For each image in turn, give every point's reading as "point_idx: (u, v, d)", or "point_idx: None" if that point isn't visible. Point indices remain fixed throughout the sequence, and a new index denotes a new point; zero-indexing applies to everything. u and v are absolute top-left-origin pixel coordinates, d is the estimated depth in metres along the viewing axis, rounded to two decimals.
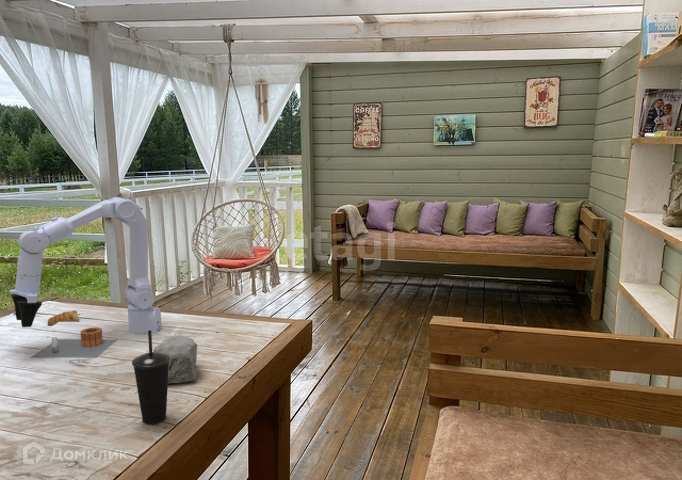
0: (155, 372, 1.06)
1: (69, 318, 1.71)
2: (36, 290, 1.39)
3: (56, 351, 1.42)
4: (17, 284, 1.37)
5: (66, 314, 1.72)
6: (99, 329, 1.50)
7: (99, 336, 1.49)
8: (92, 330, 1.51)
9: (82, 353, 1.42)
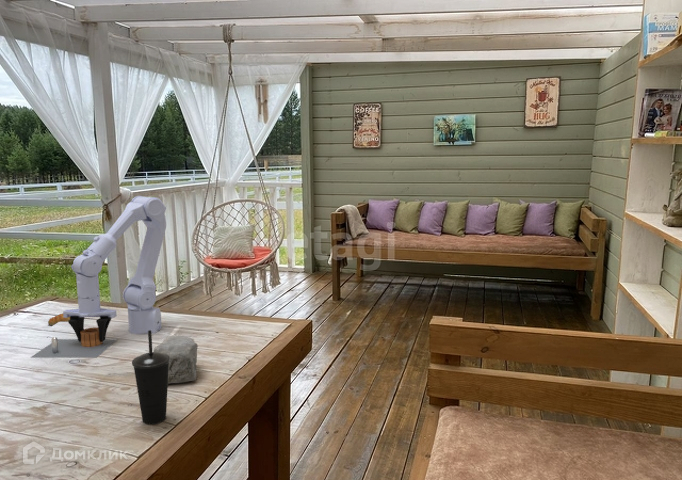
0: (155, 372, 1.06)
1: None
2: None
3: (56, 351, 1.42)
4: (88, 307, 1.45)
5: None
6: None
7: None
8: (92, 330, 1.51)
9: (82, 353, 1.42)
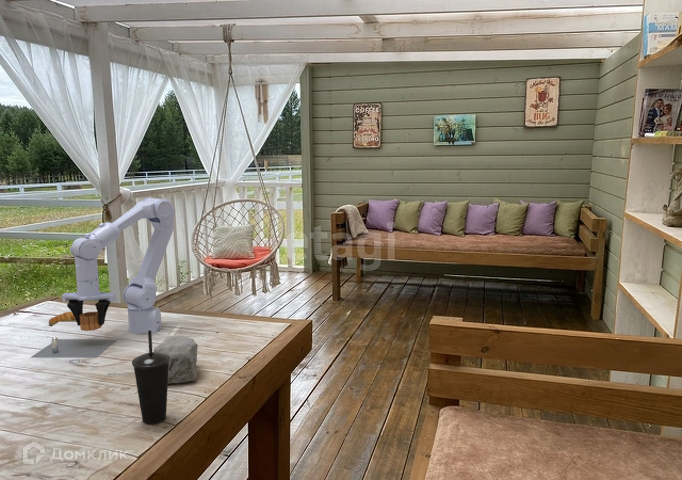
0: (155, 372, 1.06)
1: (71, 318, 1.71)
2: None
3: (56, 351, 1.42)
4: (87, 290, 1.44)
5: (67, 314, 1.71)
6: None
7: None
8: (91, 314, 1.50)
9: (82, 353, 1.42)
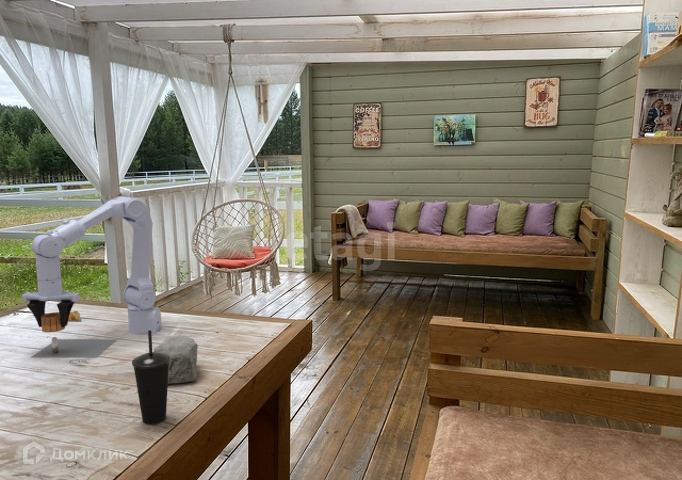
0: (155, 372, 1.06)
1: (71, 319, 1.71)
2: None
3: (56, 351, 1.42)
4: (48, 290, 1.37)
5: None
6: None
7: (60, 321, 1.40)
8: (54, 315, 1.43)
9: (82, 353, 1.42)
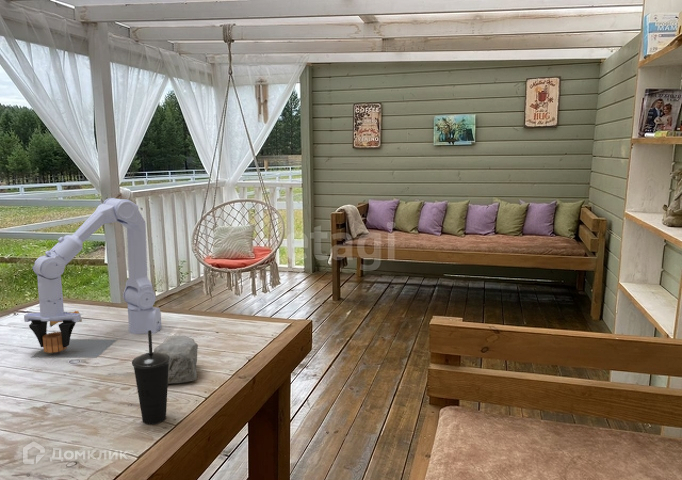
0: (155, 372, 1.06)
1: None
2: (63, 311, 1.43)
3: None
4: (50, 310, 1.38)
5: None
6: None
7: None
8: (55, 335, 1.44)
9: (82, 353, 1.42)
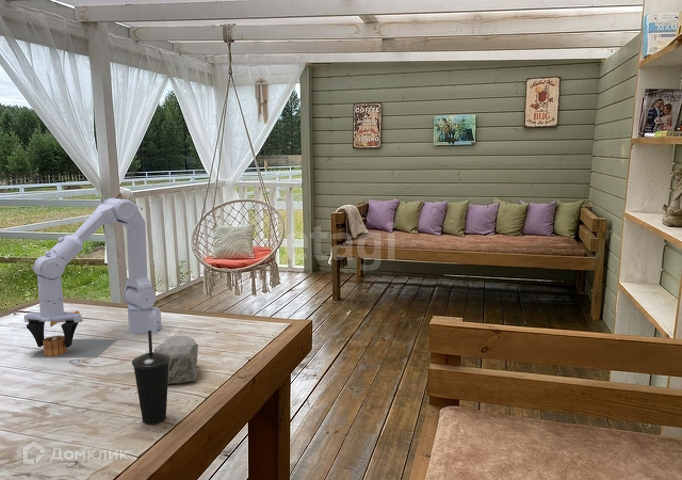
0: (155, 372, 1.06)
1: None
2: (63, 311, 1.43)
3: None
4: (50, 311, 1.38)
5: None
6: (63, 337, 1.43)
7: (62, 345, 1.41)
8: None
9: (82, 353, 1.42)
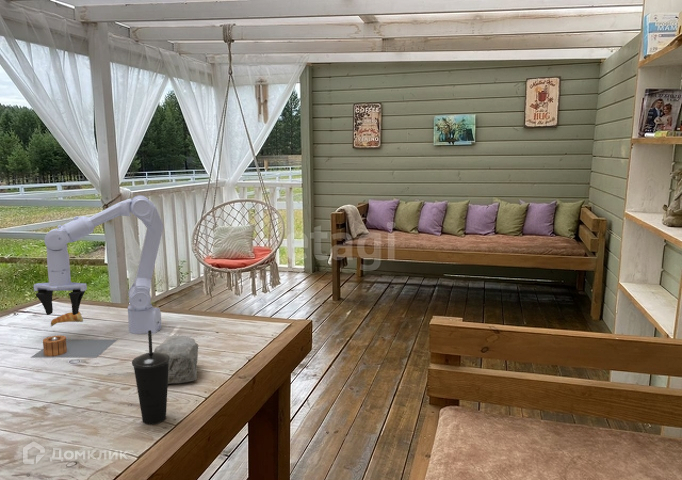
0: (155, 372, 1.06)
1: (73, 319, 1.70)
2: None
3: None
4: (58, 280, 1.47)
5: (70, 315, 1.71)
6: (63, 337, 1.43)
7: (62, 345, 1.41)
8: None
9: (82, 353, 1.42)
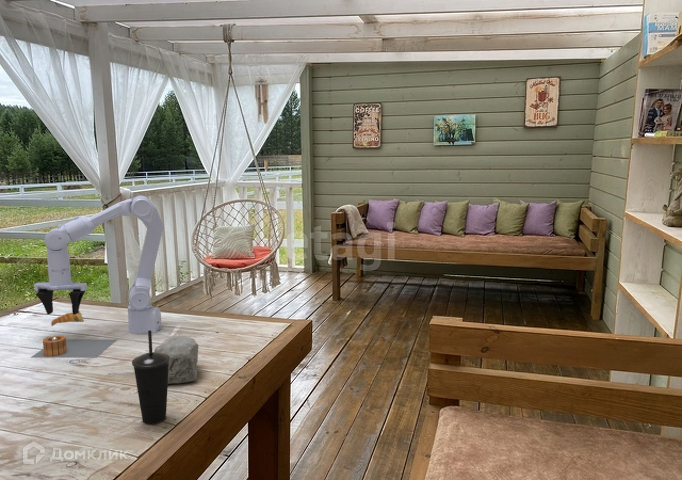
0: (155, 372, 1.06)
1: (74, 319, 1.70)
2: None
3: None
4: (58, 279, 1.48)
5: (70, 315, 1.71)
6: (63, 337, 1.43)
7: (62, 345, 1.41)
8: None
9: (82, 353, 1.42)
